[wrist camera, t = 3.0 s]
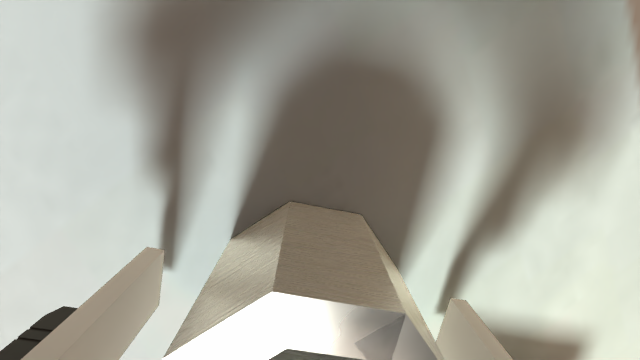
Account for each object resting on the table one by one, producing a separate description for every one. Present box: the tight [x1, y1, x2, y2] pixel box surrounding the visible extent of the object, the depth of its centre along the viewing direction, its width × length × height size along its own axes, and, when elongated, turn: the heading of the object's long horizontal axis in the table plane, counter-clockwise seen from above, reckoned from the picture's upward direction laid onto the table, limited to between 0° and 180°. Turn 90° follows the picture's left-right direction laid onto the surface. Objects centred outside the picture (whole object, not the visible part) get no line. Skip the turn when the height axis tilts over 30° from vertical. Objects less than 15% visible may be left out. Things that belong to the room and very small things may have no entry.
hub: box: [163, 201, 445, 360], centre depth 12 cm, size 8×8×7 cm
